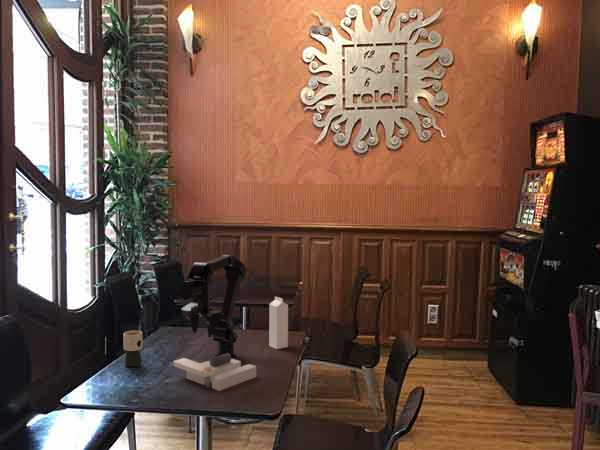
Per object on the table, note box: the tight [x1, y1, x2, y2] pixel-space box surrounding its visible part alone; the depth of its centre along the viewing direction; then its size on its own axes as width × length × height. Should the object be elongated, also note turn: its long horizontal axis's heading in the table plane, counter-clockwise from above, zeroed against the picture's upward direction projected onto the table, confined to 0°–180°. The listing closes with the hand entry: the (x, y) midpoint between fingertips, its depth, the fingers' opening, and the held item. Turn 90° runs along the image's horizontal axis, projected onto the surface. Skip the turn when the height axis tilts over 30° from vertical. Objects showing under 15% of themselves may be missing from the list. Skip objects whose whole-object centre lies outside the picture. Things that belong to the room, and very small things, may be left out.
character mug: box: [122, 330, 143, 367], centre depth 206 cm, size 11×7×13 cm, turn 3°
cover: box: [172, 357, 215, 377], centre depth 190 cm, size 5×18×2 cm, turn 50°
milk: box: [268, 296, 289, 350], centre depth 232 cm, size 6×6×22 cm
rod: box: [209, 353, 232, 367], centre depth 197 cm, size 8×3×3 cm
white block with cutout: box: [186, 358, 257, 392], centre depth 194 cm, size 18×19×4 cm
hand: (202, 334), depth 204 cm, fingers open, 8 cm apart
